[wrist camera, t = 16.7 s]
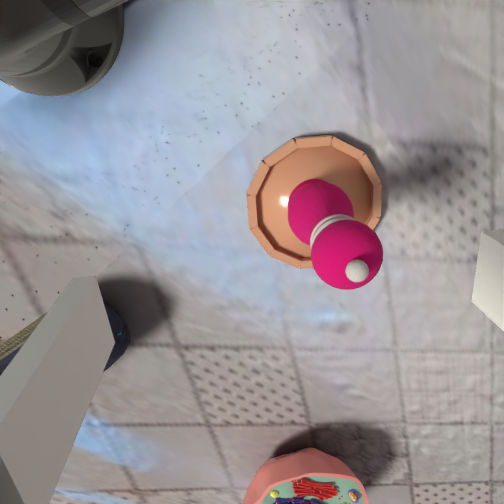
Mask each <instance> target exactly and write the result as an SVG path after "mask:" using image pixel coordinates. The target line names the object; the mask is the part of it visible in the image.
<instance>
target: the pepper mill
mask: <svg viewBox="0 0 504 504" xmlns="http://www.w3.org/2000/svg"><path fill="white" fill-rule="evenodd" d="M288 222H289V226H290V228H291V230H292V232H293V233H294V234H295V236H296V237H297V238H298V239H299V240H300V241H301V242H303V243H305V244H307V245H309V246H311V261H312V265H313V267H314V270H315V271H316V273H317V274H318V276H319V277H320V278H321V279H322V280H323V281H324V282H325V283H327V284H328V285H330V286H332V287H335V288H338V289H355V288H359V287H362V286H364V285H365V284H367V283H368V282H370V281H371V280H372V279H373V278H374V277H375V276H376V274H377V273H378V271H379V269H380V267H381V264H382V261H383V249H382V245H381V242H380V240H379V238H378V236H377V234H376V233H375V232H374V231H373V230H372V229H371V228H370V227H369V226H367V225H365V224H363V223H361V222H359V221H356V220H355V219H354V211H353V206H352V203H351V201H350V199H349V197H348V196H347V194H346V193H345V192H344V191H343V190H342V189H341V188H340V187H338V186H336V185H334V184H331V183H328V182H326V181H324V180H321V179H310V180H306V181H304V182H302V183H300V184H299V185H297V186H296V187H295V189H294V190H293V191H292V193H291V194H290V197H289V200H288Z"/></svg>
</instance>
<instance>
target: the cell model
mask: <svg viewBox="0 0 504 504" xmlns="http://www.w3.org/2000/svg"><path fill="white" fill-rule="evenodd" d="M243 504H368V498H367V495H366V492H365V490H364V487H363V485H362V483H361V482H360V481H359V479H358V478H357V477H356V475H355V474H354V473H353V472H352V470H351V469H350V468H349V467H348V466H347V465H346V464H345V463H344V462H342V461H341V460H340V459H338V458H336V457H334V456H332V455H329V454H327V453H325V452H323V451H321V450H319V449H316V448H313V447H309V448H305V449H302V450H299V451H297V452H293V453H288V454H284V455H281V456H277V457H274V458H271V459H269V460H268V461H266V462H265V463H264V464H263V465H262V466H261V467H260V468H259V470H258V471H257V473H256V475H255V476H254V478H253V480H252V481H251V483H250V485H249V487H248V489H247V492H246V495H245V498H244V501H243Z"/></svg>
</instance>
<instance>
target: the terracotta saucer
mask: <svg viewBox="0 0 504 504" xmlns="http://www.w3.org/2000/svg"><path fill="white" fill-rule="evenodd" d="M263 159H264V161H262V160H261V162H260V165H259V167H258V169H257V171H256V173H255V175H254V177H253V179H252V181H251V183H250V185H249V187H248V189H247V205H248V217H249V227H250V230H251V232H252V233H253V234H254V236H255V237H256V239H257V240H258V241H259V243H260V244H261V245H262V247H263V248H264V250H265V251H266V252H267V254H268V255H269V254H270V256H271V257H273V258H275V259H278V260H280V261H282V262H285V263H287V264H289V265H292V266H294V267H296V268H299V266H300V269H302V268H313V265H312V261H311V246H309V245H307V244H305V243H303V242H301V241H300V240H299V239H298V238H297V237H296V236H295V234H294V233H293V232H292V230H291V228H290V226H289V222H288V200H289V197H290V194H291V193H292V191H293V190H294V189H295V187H296V186H297V185H299V184H300V183H302V182H304V181H306V180H310V179H321V180H324V181H326V182H328V183H331V184H334V185H336V186H338V187H340V188H341V189H342V190H343V191H344V192H345V193H346V194H347V196H348V197H349V199H350V201H351V203H352V206H353V211H354V219H355V220H356V221H359V222H361V223H363V224H365V225H367V226H369V227H370V228H371V229H372V230H374V228H375V226H376V225H377V223H378V221H379V220H380V219H379V218H378V217H381V200H382V184H381V180H380V178H379V177H378V175H377V173H376V171H375V169H374V168H373V166H372V164H371V162H370V160H369V159H368V157H367V155H366V154H365V153H364V152H363V151H361V150H359V149H357V148H355V147H353V146H351V145H349V144H347V143H345V142H343V141H341V140H339V139H337V138H335V137H334V136H332V135H331V136H330V135H320V136H308V137H296V138H294V140H293V139H290V140H289V141H288V142H286V143H285V144H283V145H282V146H280V147H279V148H277V149H276V150H275V151H273V152H272V153H270V154H269V155H267V156H266V157H265V158H263Z"/></svg>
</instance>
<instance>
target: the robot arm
mask: <svg viewBox="0 0 504 504" xmlns="http://www.w3.org/2000/svg"><path fill="white" fill-rule="evenodd" d="M126 1H128V0H0V80H1V81H3V82H4V83H6V84H8V85H10V86H12V87H14V88H16V89H18V90H21V91H24V92H27V93H31V94H35V95H41V96H65V95H71V94H76V93H79V92H82V91H84V90H86V89H88V88H90V87H92V86H93V85H95V84H96V83H98V82H99V81H100V80H101V79H102V78H103V77H104V76H105V75H106V74H107V73H108V71H109V70H110V69H111V67H112V66H113V64H114V62H115V60H116V58H117V56H118V54H119V51H120V48H121V44H122V39H123V32H124V13H123V5H122V3H124V2H126ZM472 302H473V303H474V304H475V305H476V306H477V307H478V308H480V309H481V310H482V311H483V312H484V313H485V314H486V315H487V316H488V317H489V318H490V319H491V320H492V321H493V322H494V323H495V324H496V325H498V326H499V327H500V328H501V329H502V330H503V331H504V229H498V230H490V231H482V232H481V239H480V246H479V253H478V260H477V267H476V274H475V281H474V288H473V295H472ZM114 344H115V340H114V337H113V334H112V330H111V327H110V323H109V320H108V316H107V313H106V309H105V306H104V303H103V299H102V296H101V292H100V289H99V285H98V282H97V279H96V276H88V277H79V278H73V279H72V280H71V281H70V283H69V284H68V285H67V287H66V288H65V290H64V291H63V292H62V294H61V295H60V296H59V298H58V299H57V300H56V302H55V303H54V304H53V306H52V307H51V308H50V310H49V311H48V312H47V314H46V315H45V316H44V318H43V319H42V321H41V322H40V323H39V325H38V326H37V327H36V329H35V330H34V331H33V333H32V334H31V335H30V337H29V338H28V339H27V341H26V342H25V343H24V345H23V346H22V347H21V349H20V350H19V351H18V353H17V354H16V356H15V357H14V358H13V360H12V361H11V362H10V364H6V365H0V504H49V502H50V499H51V497H52V495H53V492H54V490H55V487H56V485H57V482H58V480H59V478H60V475H61V473H62V470H63V468H64V465H65V463H66V461H67V458H68V456H69V453H70V451H71V448H72V446H73V444H74V441H75V439H76V436H77V434H78V431H79V429H80V427H81V424H82V422H83V419H84V417H85V414H86V412H87V410H88V407H89V405H90V402H91V400H92V397H93V395H94V393H95V390H96V388H97V385H98V383H99V380H100V378H101V376H102V373H103V371H104V368H105V366H106V363H107V361H108V359H109V356H110V354H111V351H112V349H113V346H114Z"/></svg>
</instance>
